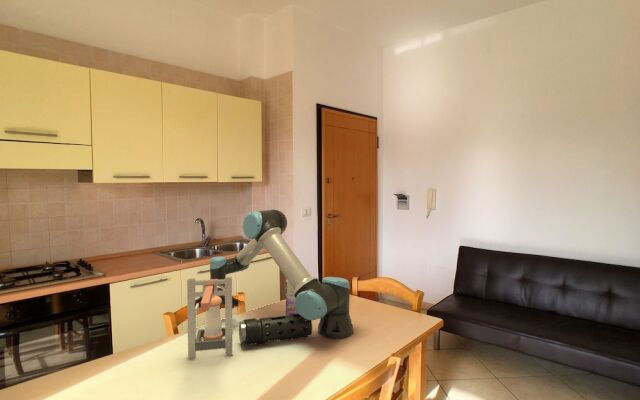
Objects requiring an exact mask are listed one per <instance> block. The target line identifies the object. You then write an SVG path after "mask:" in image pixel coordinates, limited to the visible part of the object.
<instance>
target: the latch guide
mask: <svg viewBox="0 0 640 400" xmlns="http://www.w3.org/2000/svg"><path fill="white" fill-rule="evenodd" d="M186 284H187V285H186V288H187V290H186V291H187V292H186V293H187V297H186V298H187V300H186V301H187V302H186V303H187V360H188V361H190V360H191V361H192V360H196V358H197V350H196V337H197V333H196V332H197V331H196V328H197V327H196V325H197V324H196V322H197V321H196V318H197V317H196V316H197V315H196V313H195V300H196V298H200V297H203V295H204V292H205V288H206V285H214V291H213V295H212V296H222V295H225V304H224V311H225V312H224V317H225V318H224V320H225V321H224V322H225V324H224V325H225V327H224V328H225V336H224V337H225V338H224V339H225V348H224V349H225V357H233V308H232V297H233V276H226V277H225V279H219V280H208V279H201V280H199V279H198V280H196V278H194V277H193V278H188V279H187V280H186ZM217 284H225V290H224V291H217ZM196 286H202V291H196Z"/></svg>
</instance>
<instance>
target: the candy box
mask: <svg viewBox="0 0 640 400" xmlns="http://www.w3.org/2000/svg"><path fill="white" fill-rule="evenodd" d="M294 292H295V290H294V288H293V287H292V285H291V284H290V283H289V281H288V280H287V279H286V281H285V315H292V314H299V313H298V312H297V310H296V307H295V306H296V304H295V299H296V298H295V296H294Z"/></svg>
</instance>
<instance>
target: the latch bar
mask: <svg viewBox="0 0 640 400" xmlns="http://www.w3.org/2000/svg"><path fill="white" fill-rule="evenodd" d="M207 280H218V279H207ZM213 291H214V285H206V288H205V292H204V295H203V298H202V301H201V308H200V312H206V311H209V308H210V304H211V300H212V295H213ZM217 291H218V284H217Z"/></svg>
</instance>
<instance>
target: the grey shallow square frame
mask: <svg viewBox="0 0 640 400" xmlns="http://www.w3.org/2000/svg"><path fill="white" fill-rule="evenodd" d="M221 331H222V337H225V327H221ZM204 333H205V331H204V328H202V329H201V328H200V329H198V331H197V333H196V351H204V350H205V351H206V350H216V349H225V338H222V339H219V340H207V341H204V340H202V338H201V337H203V338H204Z"/></svg>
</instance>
